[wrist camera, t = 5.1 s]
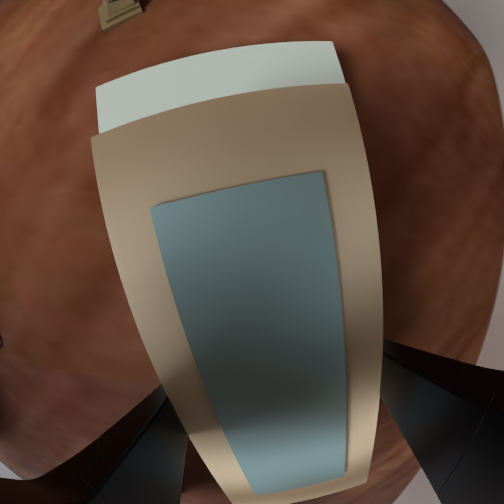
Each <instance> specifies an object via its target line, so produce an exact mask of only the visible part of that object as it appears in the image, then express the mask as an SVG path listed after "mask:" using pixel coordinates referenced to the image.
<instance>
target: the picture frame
mask: <svg viewBox="0 0 504 504" xmlns="http://www.w3.org/2000/svg"><path fill="white" fill-rule="evenodd" d="M91 145H92V152H93V159H94V166H95V172H96V178H97V184H98V189H99V194H100V199H101V204H102V209H103V214H104V218H105V222H106V227H107V231H108V235H109V239H110V243H111V246H112V250H113V254H114V257H115V261H116V264H117V268H118V271H119V274H120V278H121V281H122V284H123V287H124V290H125V293H126V296H127V299H128V302H129V305H130V308H131V311H132V314H133V316H134V319H135V322H136V325H137V327H138V330H139V332H140V335H141V338H142V340H143V343H144V345H145V347H146V350H147V352H148V355H149V357H150V359H151V362H152V364H153V366H154V369H155V371H156V373H157V375H158V377H159V380H160V382H161V384H162V386H163V388H164V390H165V392H166V394H167V396H168V398H169V399H170V401H171V403H172V405H173V407H174V409H175V411H176V413H177V415H178V417H179V419H180V421H181V423H182V425H183V427H184V429H185V431H186V432H187V434H188V436H189V438H190V440H191V441H192V443H193V445H194V446H195V448H196V450H197V451H198V453H199V455H200V456H201V458H202V460H203V461H204V463H205V464H206V466H207V468H208V469H209V471H210V472H211V474H212V475H213V477H214V478H215V480H216V481H217V483H218V484H219V486H220V487H221V488H222V490H223V491H224V493H225V494H226V495H227V497H228V498H229V500H230V501H231V502H232V504H289V503H294V502H299V501H304V500H308V499H313V498H317V497H321V496H325V495H328V494H332V493H336V492H339V491H342V490H346V489H349V488H352V487H355V486H358V485H361V484H363V483H366V482H367V478H368V473H369V468H370V463H371V458H372V452H373V446H374V440H375V433H376V426H377V418H378V410H379V400H380V384H381V371H382V355H383V293H382V272H381V258H380V246H379V236H378V227H377V219H376V211H375V204H374V197H373V190H372V184H371V178H370V173H369V167H368V162H367V157H366V152H365V147H364V143H363V138H362V134H361V130H360V125H359V121H358V117H357V113H356V110H355V106H354V102H353V99H352V95H351V92H350V88H349V85H348V83H337V84H316V85H303V86H292V87H283V88H274V89H267V90H260V91H253V92H247V93H241V94H235V95H230V96H225V97H220V98H215V99H211V100H206V101H202V102H198V103H193V104H189V105H186V106H182V107H178V108H174V109H171V110H167V111H164V112H160V113H157V114H154V115H151V116H147V117H144V118H141V119H138V120H135V121H132V122H130V123H127V124H124V125H121V126H118V127H116V128H113V129H111V130H108V131H105V132H103V133H100V134H98V135H96V136H93V137H91Z"/></svg>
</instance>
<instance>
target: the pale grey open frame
mask: <svg viewBox="0 0 504 504" xmlns="http://www.w3.org/2000/svg"><path fill="white" fill-rule="evenodd" d="M337 83H345V79H344V76H343V73H342V70H341V66H340V63H339V60H338V57H337V54H336V51H335V48H334V45H333V42H332V41H303V42H282V43H269V44H259V45H251V46H243V47H236V48H230V49H224V50H218V51H213V52H208V53H203V54H198V55H194V56H189V57H185V58H181V59H177V60H173V61H170V62H166V63H163V64H159V65H156V66H153V67H149V68H146V69H143V70H140V71H137V72H134V73H131V74H129V75H126V76H123V77H121V78H118V79H115V80H113V81H110V82H108V83H105V84H103V85H101V86H98V87H96V100H97V114H98V125H99V134H100V133H103V132H105V131H108V130H111V129H113V128H116V127H118V126H121V125H124V124H127V123H130V122H132V121H135V120H138V119H141V118H144V117H147V116H151V115H154V114H157V113H160V112H164V111H167V110H171V109H174V108H178V107H182V106H186V105H189V104H193V103H198V102H202V101H206V100H211V99H215V98H220V97H225V96H230V95H235V94H241V93H247V92H253V91H260V90H267V89H274V88H283V87H292V86H303V85H316V84H337Z"/></svg>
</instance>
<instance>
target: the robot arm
mask: <svg viewBox="0 0 504 504" xmlns="http://www.w3.org/2000/svg"><path fill="white" fill-rule="evenodd" d="M380 396H381V399H382V401H383V402H384V404H385V406H386V408H387V409H388V411H389V413H390V414H391V416H392V418H393V419H394V421H395V423H396V424H397V426H398V428H399V429H400V431H401V433H402V434H403V436H404V438H405V439H406V441H407V443H408V445H409V446H410V448H411V450H412V451H413V453H414V455H415V457H416V458H417V460H418V462H419V464H420V465H421V467H422V469H423V471H424V472H425V474H426V476H427V478H428V479H429V481H430V483H431V485H432V487H433V489H434V490H435V492H436V494H437V496H438V498H439V500H440V502H441V504H504V371H501V370H495V369H489V368H484V367H480V366H476V365H472V364H468V363H465V362H464V363H462V362H461V361H457V360H453V359H450V358H446V357H443V356H439V355H436V354H432V353H429V352H426V351H422V350H419V349H415V348H412V347H409V346H406V345H402V344H399V343H396V342H393V341H389V340H386V339H383V355H382V371H381V384H380ZM186 448H187V432H186V431H185V429H184V427H183V425H182V423H181V421H180V419H179V417H178V415H177V413H176V411H175V409H174V407H173V405H172V403H171V401H170V399H169V398H168V396H167V394H166V392H165V390H164V388H163V386H162V384H161V385H160V386H159V387H158V388H156V389H155V390H154V391H153V392H152V393H151V394H149V395H148V396H147V397H146V398H145V399H144V400H143V401H141V402H140V403H139V404H138V405H137V406H136V407H134V408H133V409H132V410H131V411H130V412H129V413H127V414H126V415H125V416H124V417H123V418H121V419H120V420H119V421H118V422H117V423H115V424H114V425H113V426H112V427H111V428H109V429H108V430H107V431H106V432H104V433H103V434H102V435H101V436H100V437H99V438H97V439H96V440H95V441H93V442H92V443H91V444H90V445H88V446H87V447H86V448H84V449H83V450H82V451H80V452H79V453H78V454H76V455H75V456H73V457H72V458H70V459H69V460H67V461H65V462H64V463H62V464H61V465H59V466H57V467H56V468H54V469H53V470H51V471H49V472H48V473H46V474H44V475H42V476H40V477H38V478H36V479H31V480H15V479H7V478H0V504H180V499H181V495H182V494H181V490H182V481H183V472H184V464H185V456H186Z"/></svg>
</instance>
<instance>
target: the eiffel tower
mask: <svg viewBox="0 0 504 504" xmlns="http://www.w3.org/2000/svg"><path fill="white" fill-rule="evenodd" d="M98 11H99V16H100V22H101V27H102V31H103V32H105V31H107V30H109V29H111V28H113V27H114V26H116V25H118V24H120V23H122V22H124V21H127V20H129V19H131V18H133V17H135V16H137V15H140V14H142V13H143V12H142V8H141V5H140V2H139V0H103V2H102V5H101V6H100V7H98Z"/></svg>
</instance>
